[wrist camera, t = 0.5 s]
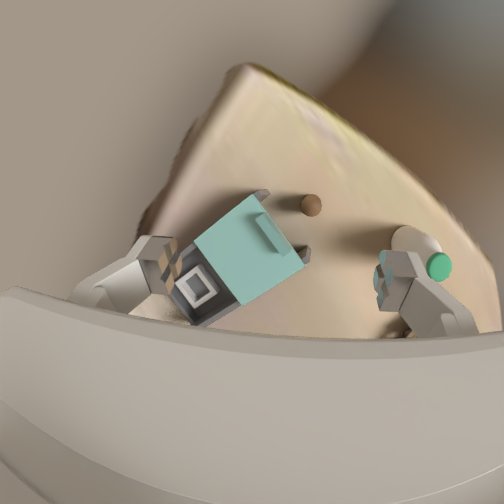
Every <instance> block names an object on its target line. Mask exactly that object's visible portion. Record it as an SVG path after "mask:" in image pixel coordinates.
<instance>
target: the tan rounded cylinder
mask: <svg viewBox="0 0 504 504" xmlns="http://www.w3.org/2000/svg"><path fill="white" fill-rule="evenodd" d="M321 208H322V205H321V200H320V198H319V197H318V196H316V195H314V194H310V195H307V196H306V197H305V198H304V199H303V200H302V201H301V210H302V212H303V213H304V214H305V215H307V216H310V217H312V216H316V215H317V214H319V212H320V211H321Z"/></svg>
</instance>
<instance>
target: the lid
mask: <svg viewBox="0 0 504 504" xmlns="http://www.w3.org/2000/svg"><path fill="white" fill-rule="evenodd" d="M194 242H195V244H196V245H197V247H198V248H199V249H200V251H201V252H202V253H203V255H204V256H205V258H206V259H207V260H208V262H209V263H210V264H211V266H212V267H213V268H214V270H215V271H216V272H217V274H218V275H219V276H220V278H221V279H222V280H223V282H224V283H225V284H226V286H227V287H228V288H229V290H230V291H231V292H232V293H233V295H234V296H235V297H236V299H237V300H238V301H239V303H240V304H241V305H242V306H243V305H245V304H247V303H248V302H250V301H252V300H253V299H255V298H256V297H258V296H260V295H261V294H263V293H264V292H266V291H267V290H269V289H271V288H272V287H274V286H275V285H277V284H278V283H280V282H282V281H283V280H285V279H286V278H288V277H289V276H291V275H292V274H294V273H296V272H297V271H299V270H300V269H302V268H303V267H305V264H304V263H303V261H302V260H301V258H300V257H299V256H298V254H297V253H296V251H295V250H294V249H293V247H292V246H291V244H290V243H289V242H288V240H287V239H286V237H285V236H284V235H283V233H282V232H281V231H280V229H279V228H278V226H277V225H276V224H275V222H274V221H273V220H272V218H271V217H270V216H269V214H268V213H267V212H266V210H265V209H264V208H263V206H262V205H261V203H260V202H259V201H258V199H257V198H256V197H255V195H254V194H251V195H250V196H249V197H247V198H246V199H245V200H244V201H242V202H241V203H240V204H239V205H237V206H236V207H235V208H233V209H232V210H231V211H230V212H228V213H227V214H226V215H225V216H223V217H222V218H221V219H220V220H218V221H217V222H216V223H215V224H214V225H212V226H211V227H210V228H209V229H207V230H206V231H205V232H204V233H202V234H201V235H200V236H199V237H198V238H196V239H195V240H194Z"/></svg>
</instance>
